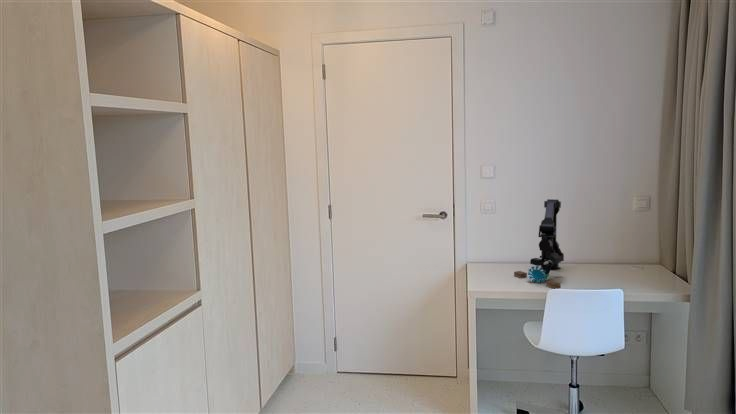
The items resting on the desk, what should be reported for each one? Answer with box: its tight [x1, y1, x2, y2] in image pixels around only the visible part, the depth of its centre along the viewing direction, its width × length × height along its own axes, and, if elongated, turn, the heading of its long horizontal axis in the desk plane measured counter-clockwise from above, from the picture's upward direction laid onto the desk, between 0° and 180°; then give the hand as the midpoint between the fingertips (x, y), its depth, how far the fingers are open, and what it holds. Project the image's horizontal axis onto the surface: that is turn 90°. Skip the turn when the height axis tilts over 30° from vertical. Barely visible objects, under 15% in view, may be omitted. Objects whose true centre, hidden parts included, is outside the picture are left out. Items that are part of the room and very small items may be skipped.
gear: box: [527, 265, 550, 284], centre depth 287 cm, size 11×6×10 cm
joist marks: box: [513, 270, 561, 289], centre depth 286 cm, size 4×29×2 cm, turn 27°
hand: (547, 275), depth 289 cm, fingers closed
